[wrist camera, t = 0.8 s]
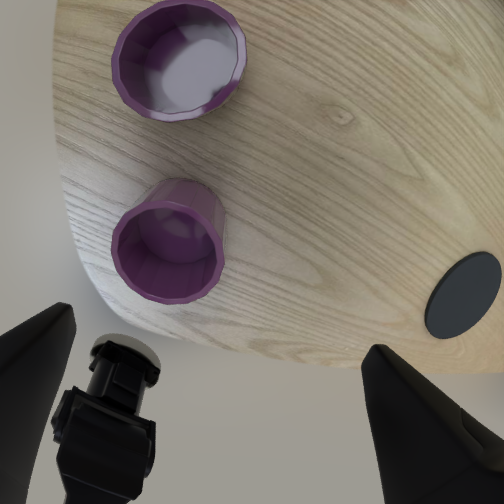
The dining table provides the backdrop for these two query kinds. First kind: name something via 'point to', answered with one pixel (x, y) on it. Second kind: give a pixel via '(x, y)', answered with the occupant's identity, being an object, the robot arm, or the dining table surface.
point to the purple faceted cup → (179, 60)
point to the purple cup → (172, 242)
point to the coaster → (463, 295)
